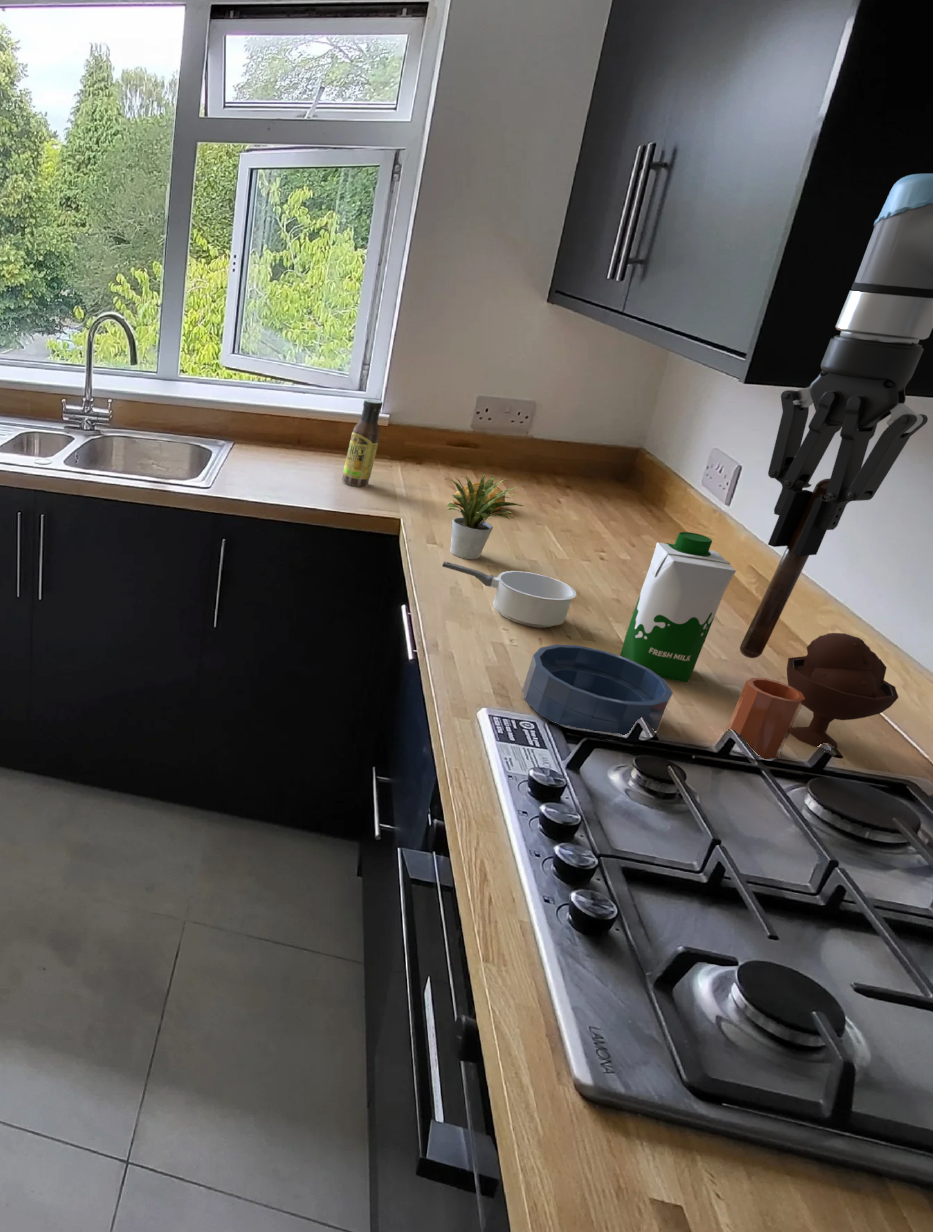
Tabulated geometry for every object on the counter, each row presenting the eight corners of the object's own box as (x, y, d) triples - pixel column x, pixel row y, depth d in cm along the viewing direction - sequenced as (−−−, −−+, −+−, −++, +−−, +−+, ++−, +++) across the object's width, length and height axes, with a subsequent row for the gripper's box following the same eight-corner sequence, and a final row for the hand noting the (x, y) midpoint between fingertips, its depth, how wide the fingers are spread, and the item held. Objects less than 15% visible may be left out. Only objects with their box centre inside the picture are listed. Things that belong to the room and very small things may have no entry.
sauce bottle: (335, 480, 212) (352, 397, 204) (355, 479, 214) (372, 396, 207) (354, 488, 206) (372, 403, 199) (374, 487, 209) (393, 402, 201)
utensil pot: (786, 766, 108) (816, 702, 104) (743, 764, 107) (771, 700, 104) (752, 740, 113) (779, 678, 109) (710, 738, 112) (736, 676, 109)
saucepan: (442, 582, 156) (450, 552, 154) (569, 614, 146) (579, 583, 144) (428, 603, 147) (436, 572, 144) (562, 638, 137) (573, 606, 135)
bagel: (444, 496, 206) (449, 476, 204) (492, 500, 206) (497, 480, 204) (460, 510, 197) (465, 489, 195) (510, 514, 196) (515, 493, 195)
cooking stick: (763, 662, 106) (849, 482, 98) (746, 660, 105) (832, 480, 98) (748, 653, 108) (832, 477, 100) (732, 652, 107) (815, 475, 100)
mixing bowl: (684, 749, 110) (701, 707, 107) (563, 744, 109) (577, 702, 106) (607, 685, 124) (621, 647, 122) (500, 681, 123) (511, 642, 121)
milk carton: (676, 662, 132) (725, 536, 125) (696, 690, 124) (750, 558, 117) (611, 650, 135) (655, 526, 127) (627, 677, 127) (675, 546, 119)
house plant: (448, 569, 162) (470, 483, 155) (407, 542, 174) (426, 461, 168) (516, 569, 165) (541, 484, 158) (471, 542, 177) (493, 462, 171)
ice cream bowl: (851, 776, 107) (906, 666, 101) (745, 731, 115) (790, 627, 109) (878, 751, 113) (931, 646, 107) (775, 710, 121) (819, 610, 115)
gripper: (990, 350, 87) (887, 573, 96) (826, 328, 100) (749, 525, 109) (940, 349, 84) (840, 577, 93) (779, 326, 98) (705, 528, 107)
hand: (791, 549), depth 101 cm, fingers closed on cooking stick, 2 cm apart
